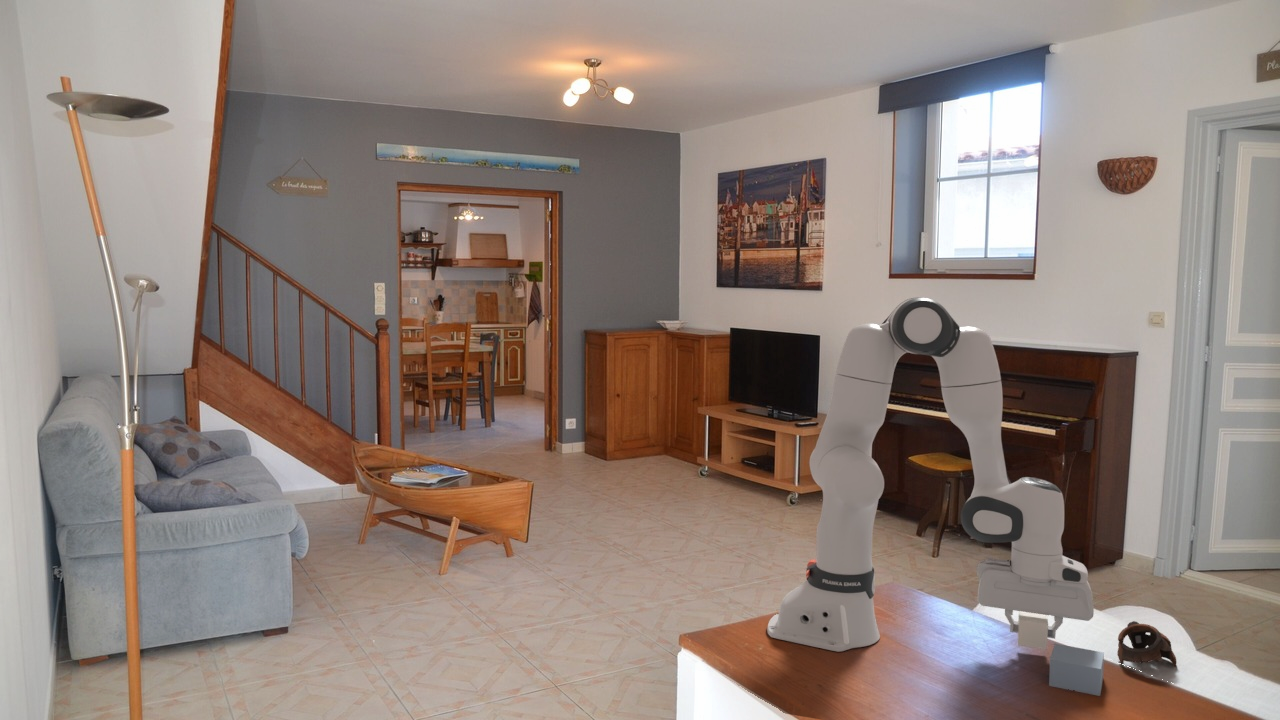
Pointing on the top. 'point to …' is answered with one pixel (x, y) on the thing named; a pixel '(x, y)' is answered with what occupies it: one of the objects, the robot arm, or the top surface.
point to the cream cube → (1032, 630)
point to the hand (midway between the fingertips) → (1032, 634)
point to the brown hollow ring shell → (1144, 644)
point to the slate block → (1076, 669)
